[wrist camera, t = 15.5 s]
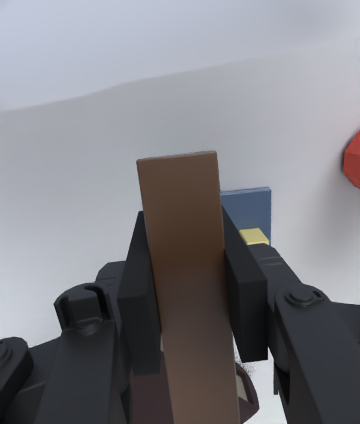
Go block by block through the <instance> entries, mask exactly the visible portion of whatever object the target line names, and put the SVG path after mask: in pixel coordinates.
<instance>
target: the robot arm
mask: <svg viewBox="0 0 360 424" xmlns="http://www.w3.org/2000/svg"><path fill="white" fill-rule="evenodd" d="M221 205H222V204H221ZM222 217H223V228H224V240H225V249H224V257H225V268H226V279H227V291H228V302H229V314H230V325H231V329H232V332H233V336H234V339H235V342H236V345H237V349H238V352H239V355H240V359H241V362H242V363H247V362H254V361H262V360H268V347H269V349H270V352H271V354H272V356H273V358H274V395H278V391H279V395H280V398H281V402H282V406H283V409H284V413H285V417H286V420H287V424H360V305H355V304H344V303H337V302H331V301H330V299H329V298H328V297H327V296H326V295H325V294H324V293H323V292H322V291H321V290H319V289H317V288H315V287H313V286H309V285H306V284H303V283H302V282H301V281H300V280H299V278H298V277H297V276H296V275H295V273H294V272H293V271H292V270H291V268H290V267H289V266H288V265H287V264H286V262H285V261H284V260H283V258H282V257H281V256H280V254H279V253H278V252H277V251H276V249H275V248H273V247H271V246H269V245H267V244H266V243H258V244H250V245H246V243H245V241H244V240H243V238H242V237H241V235H240V233H239V232H238V230H237V228H236V227H235V225H234V223H233V222H232V220H231V218H230V217H229V215H228V214H227V212H226V210H225V209H224V207H223V205H222ZM54 307H55V310H56V313H57V316H58V319H59V322H60V325H61V329H62V333H61V336H60V337H58V338H56V339H53V340H51V341H49V342H46V343H43V344H40V345H37V346H35V347H32V348H29V347H28V345H27V342H26V341H25V340H23V339H22V338H18V337H10V338H4V339H1V340H0V424H133V404H132V389H131V385H130V381H129V378H130V371H131V365H132V370H133V374H134V377H136V376H144V375H152V374H160V360H161V329H160V322H159V315H158V308H157V302H156V295H155V288H154V281H153V274H152V267H151V260H150V253H149V247H148V240H147V233H146V226H145V219H144V212H143V211H139V212H138V216H137V220H136V224H135V228H134V232H133V236H132V240H131V243H130V247H129V251H128V255H127V259H126V261H119V262H111V263H107V264H106V265H105V266H104V267H103V268H102V269H101V270H99V272H98V275H97V277H96V281H95V282H94V283H85V284H81V285H78V286H75V287H73V288H71V289H69V290H67V291H65V292H64V293H63V294H61V295H60V296H59V297H58V298H57V299H56V301H55V302H54Z"/></svg>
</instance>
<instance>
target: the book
mask: <svg viewBox="0 0 360 424" xmlns="http://www.w3.org/2000/svg"><path fill="white" fill-rule="evenodd" d="M235 368H236V379H237V391H238V403H239V414H240V424H243V423H244V422H246V421H247V420H248V419H249V418H251V417H252V416H253V415H254V414H255V413H257V411H258V410H259V402H258V397H257V393H256V391H255V388H254V386H253V383H252V381H251V379H250V377H249V375H248V374H247V373H246V371H245V370H244V369H243V368H242V367H241V366H240V365H239V364H237V363H236V362H235ZM129 381H130V385H131V389H132V404H133V424H174V419H173V412H172V405H171V398H170V391H169V384H168V377H167V370H166V364H165V357H164V350H163V343H162V336H161V360H160V374H152V375H144V376H136V377H134V374H133V370H132V365H131V371H130V378H129Z"/></svg>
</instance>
